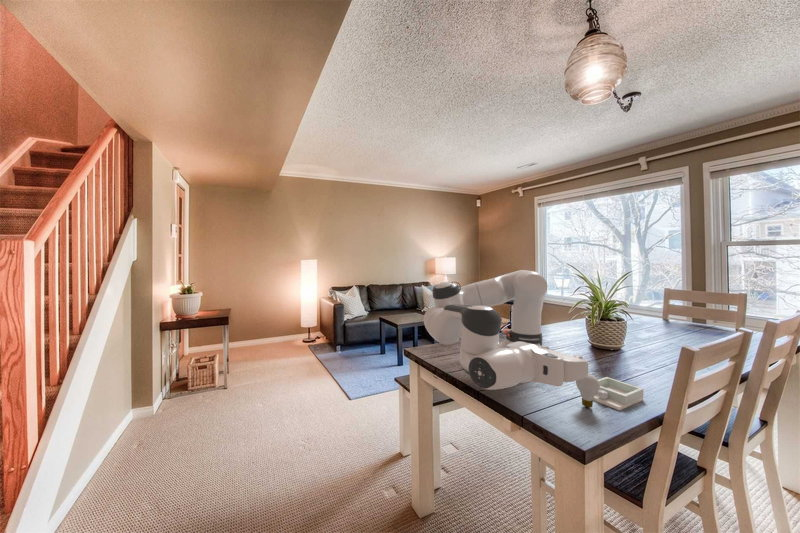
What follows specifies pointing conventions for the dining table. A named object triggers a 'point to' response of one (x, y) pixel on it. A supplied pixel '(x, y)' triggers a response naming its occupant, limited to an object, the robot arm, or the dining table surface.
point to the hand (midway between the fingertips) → (562, 353)
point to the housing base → (617, 393)
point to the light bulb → (588, 389)
